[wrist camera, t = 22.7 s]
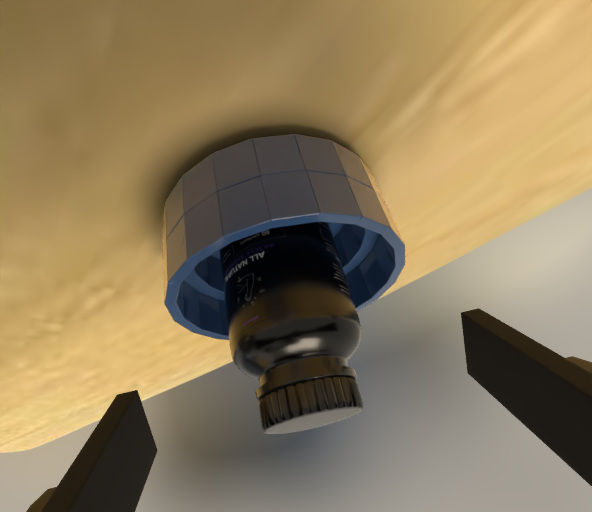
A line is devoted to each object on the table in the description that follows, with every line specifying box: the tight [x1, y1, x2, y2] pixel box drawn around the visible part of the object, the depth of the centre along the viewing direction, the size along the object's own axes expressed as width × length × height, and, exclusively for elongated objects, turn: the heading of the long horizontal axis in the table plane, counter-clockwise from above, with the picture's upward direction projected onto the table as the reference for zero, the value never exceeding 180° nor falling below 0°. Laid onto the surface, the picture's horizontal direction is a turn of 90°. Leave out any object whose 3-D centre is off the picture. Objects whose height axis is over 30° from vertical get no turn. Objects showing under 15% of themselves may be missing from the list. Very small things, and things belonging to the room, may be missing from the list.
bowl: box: [162, 134, 405, 340], centre depth 22 cm, size 13×13×6 cm
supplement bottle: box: [219, 222, 363, 434], centre depth 20 cm, size 7×7×12 cm
